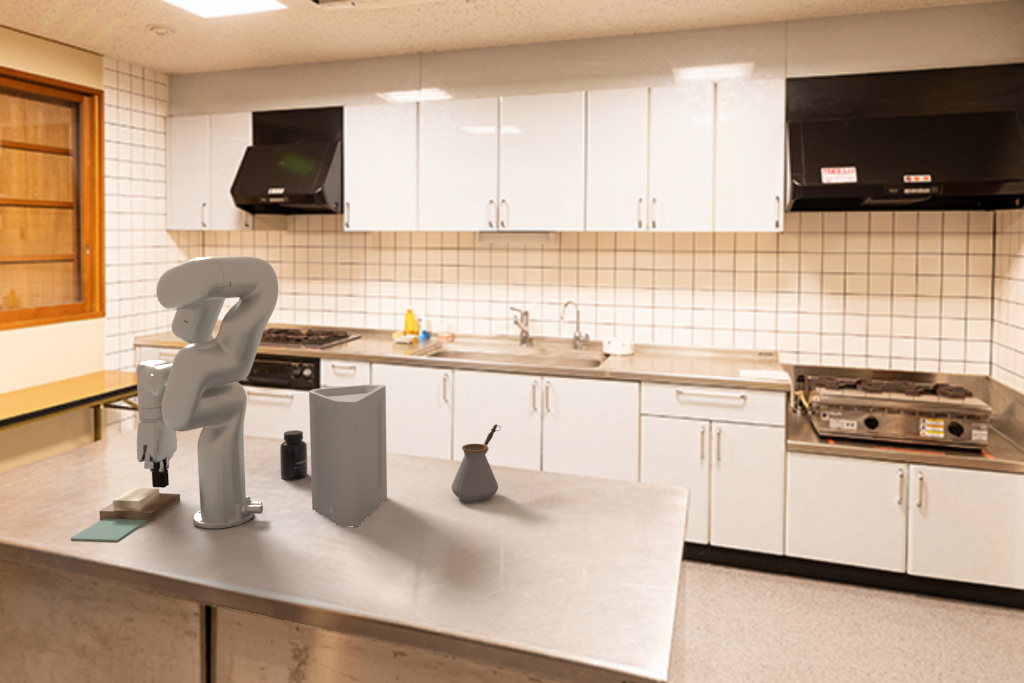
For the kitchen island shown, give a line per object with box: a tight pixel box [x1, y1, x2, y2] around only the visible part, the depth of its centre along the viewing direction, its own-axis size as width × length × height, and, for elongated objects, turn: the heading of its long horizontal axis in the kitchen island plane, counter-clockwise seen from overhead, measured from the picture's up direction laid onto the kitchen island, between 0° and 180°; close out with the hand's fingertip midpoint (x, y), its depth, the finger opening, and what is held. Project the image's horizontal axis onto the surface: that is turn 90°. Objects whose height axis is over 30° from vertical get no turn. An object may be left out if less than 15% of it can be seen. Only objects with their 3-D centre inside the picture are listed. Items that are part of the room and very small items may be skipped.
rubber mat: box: [70, 518, 148, 542], centre depth 152 cm, size 10×11×1 cm
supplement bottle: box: [279, 429, 308, 481], centre depth 188 cm, size 7×7×12 cm
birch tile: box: [112, 487, 160, 511], centre depth 162 cm, size 6×8×2 cm
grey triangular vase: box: [308, 384, 388, 528], centre depth 164 cm, size 19×15×28 cm
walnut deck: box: [98, 492, 181, 522], centre depth 163 cm, size 12×12×2 cm
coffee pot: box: [451, 424, 502, 504], centre depth 178 cm, size 21×12×15 cm, turn 161°
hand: (160, 486), depth 172 cm, fingers closed
